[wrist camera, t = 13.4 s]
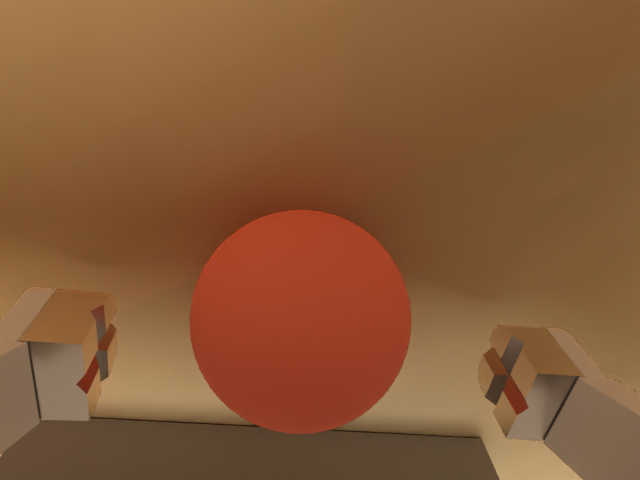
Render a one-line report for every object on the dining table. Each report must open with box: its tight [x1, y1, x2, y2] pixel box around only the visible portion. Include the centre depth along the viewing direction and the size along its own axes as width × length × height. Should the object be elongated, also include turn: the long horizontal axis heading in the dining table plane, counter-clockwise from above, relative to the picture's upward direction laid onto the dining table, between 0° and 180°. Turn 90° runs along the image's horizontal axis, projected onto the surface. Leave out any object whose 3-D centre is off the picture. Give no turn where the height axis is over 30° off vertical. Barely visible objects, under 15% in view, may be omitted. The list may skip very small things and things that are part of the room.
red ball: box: [190, 210, 411, 434], centre depth 10 cm, size 4×4×4 cm
